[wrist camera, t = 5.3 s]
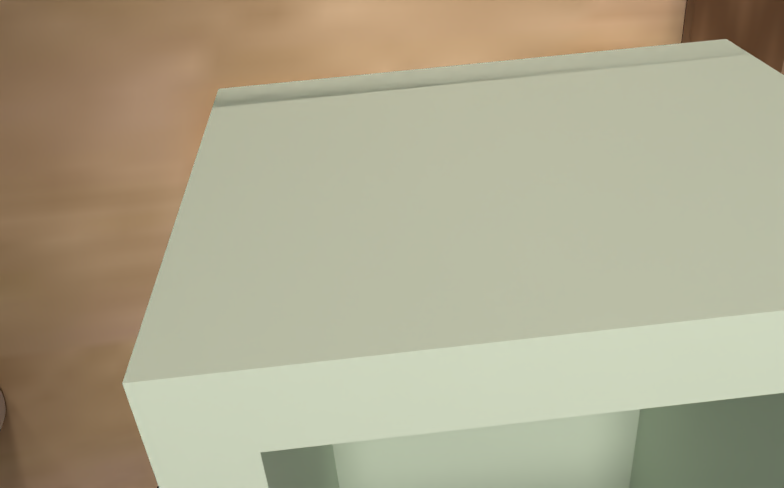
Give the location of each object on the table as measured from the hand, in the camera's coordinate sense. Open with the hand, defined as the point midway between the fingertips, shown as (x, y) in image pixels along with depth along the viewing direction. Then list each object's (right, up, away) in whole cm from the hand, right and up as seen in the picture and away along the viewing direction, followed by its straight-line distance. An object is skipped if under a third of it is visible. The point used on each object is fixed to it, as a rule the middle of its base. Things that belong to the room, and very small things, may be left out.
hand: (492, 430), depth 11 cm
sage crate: (0, +1, +1) cm, 1 cm away
